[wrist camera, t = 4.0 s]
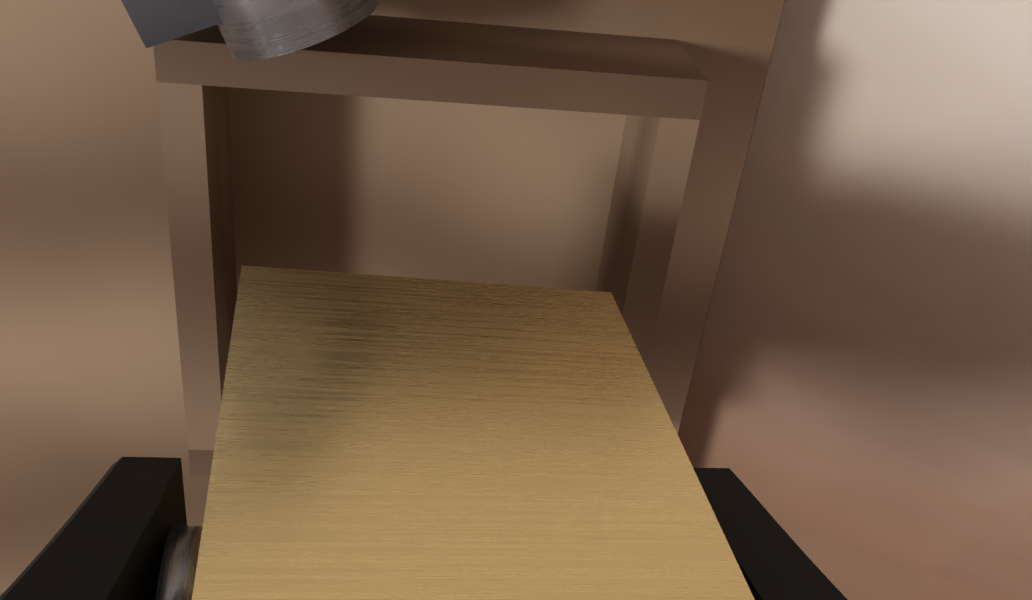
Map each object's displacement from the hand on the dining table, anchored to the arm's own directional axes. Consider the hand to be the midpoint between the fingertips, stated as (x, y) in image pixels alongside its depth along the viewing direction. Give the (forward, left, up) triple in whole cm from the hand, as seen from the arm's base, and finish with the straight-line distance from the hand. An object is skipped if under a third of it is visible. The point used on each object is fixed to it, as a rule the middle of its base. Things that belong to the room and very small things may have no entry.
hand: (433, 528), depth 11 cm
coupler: (0, 0, -2) cm, 2 cm away
